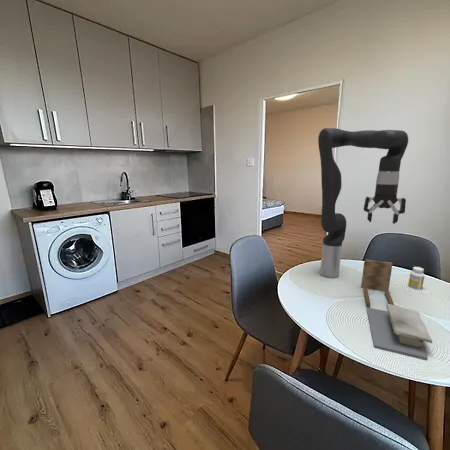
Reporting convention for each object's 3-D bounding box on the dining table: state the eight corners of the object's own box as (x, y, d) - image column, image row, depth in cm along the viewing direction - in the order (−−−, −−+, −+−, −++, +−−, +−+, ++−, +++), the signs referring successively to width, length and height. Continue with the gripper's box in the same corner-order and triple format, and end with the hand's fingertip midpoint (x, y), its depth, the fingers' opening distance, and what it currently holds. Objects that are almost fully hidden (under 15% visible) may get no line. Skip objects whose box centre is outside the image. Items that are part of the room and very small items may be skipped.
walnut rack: (365, 307, 104) (369, 276, 100) (361, 286, 121) (364, 259, 118) (396, 313, 99) (401, 281, 96) (387, 290, 117) (392, 262, 114)
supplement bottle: (417, 284, 123) (420, 266, 120) (424, 290, 117) (428, 270, 115) (405, 284, 123) (408, 265, 121) (412, 289, 118) (416, 270, 116)
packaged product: (391, 342, 82) (429, 353, 78) (395, 329, 81) (433, 340, 77) (384, 313, 98) (414, 321, 94) (386, 302, 96) (418, 309, 92)
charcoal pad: (373, 347, 81) (374, 345, 81) (366, 309, 103) (366, 307, 102) (427, 360, 76) (427, 357, 76) (407, 316, 97) (408, 315, 97)
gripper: (367, 183, 100) (363, 223, 104) (411, 184, 94) (404, 225, 98) (366, 182, 107) (361, 219, 110) (406, 182, 101) (400, 221, 105)
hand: (381, 222), depth 104 cm, fingers open, 8 cm apart
